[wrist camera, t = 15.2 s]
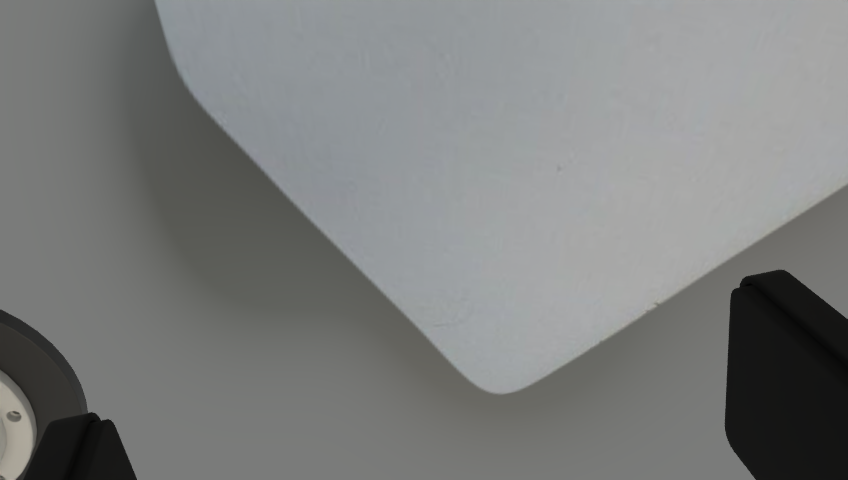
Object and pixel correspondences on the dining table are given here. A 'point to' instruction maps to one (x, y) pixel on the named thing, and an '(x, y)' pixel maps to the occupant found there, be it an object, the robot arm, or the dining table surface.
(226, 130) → the dining table surface
